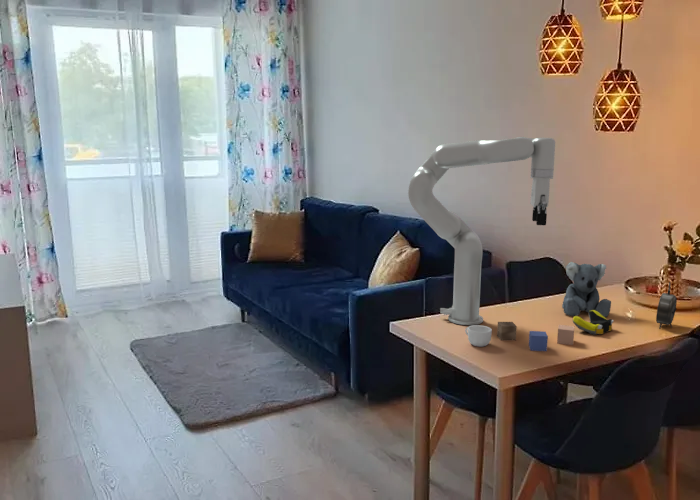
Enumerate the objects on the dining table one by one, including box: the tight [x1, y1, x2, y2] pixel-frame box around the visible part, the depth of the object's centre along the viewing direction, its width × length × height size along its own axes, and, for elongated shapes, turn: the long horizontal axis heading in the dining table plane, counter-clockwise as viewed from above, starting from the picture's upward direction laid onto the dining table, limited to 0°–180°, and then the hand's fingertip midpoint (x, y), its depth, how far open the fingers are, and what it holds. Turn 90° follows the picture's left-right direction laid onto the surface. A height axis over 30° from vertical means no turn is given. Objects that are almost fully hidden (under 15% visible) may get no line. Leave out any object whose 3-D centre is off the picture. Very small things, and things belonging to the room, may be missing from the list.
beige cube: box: [556, 324, 576, 346], centre depth 217 cm, size 5×5×5 cm
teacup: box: [464, 324, 493, 348], centre depth 215 cm, size 10×8×5 cm
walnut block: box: [496, 321, 517, 341], centre depth 221 cm, size 5×5×5 cm
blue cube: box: [528, 330, 549, 352], centre depth 211 cm, size 5×5×5 cm
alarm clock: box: [655, 281, 678, 330], centre depth 233 cm, size 11×5×16 cm, turn 145°
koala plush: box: [561, 261, 612, 318], centre depth 252 cm, size 17×18×20 cm
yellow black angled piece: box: [572, 310, 615, 336], centre depth 230 cm, size 15×6×10 cm
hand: (538, 223), depth 230 cm, fingers open, 9 cm apart
